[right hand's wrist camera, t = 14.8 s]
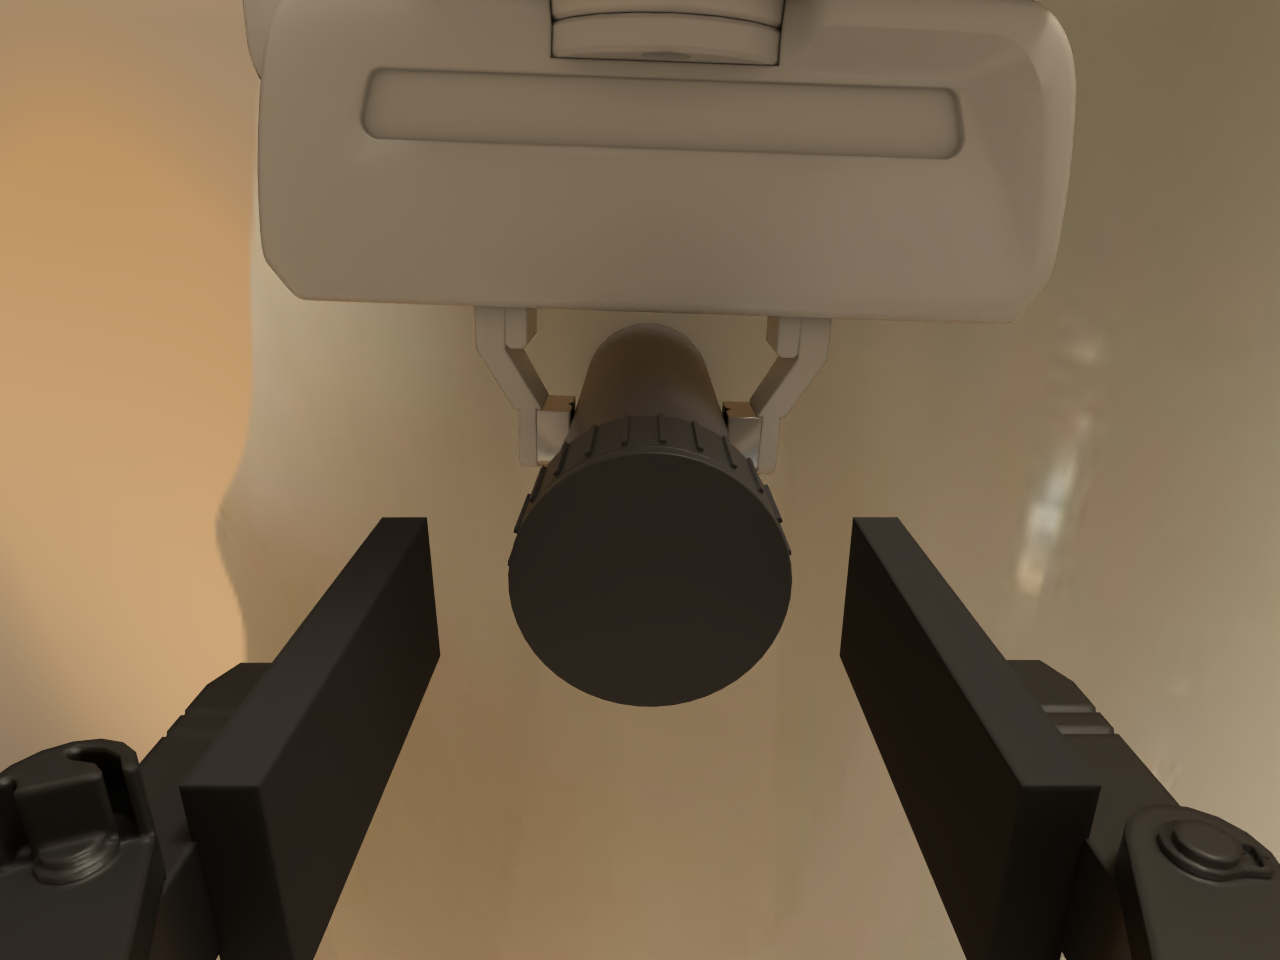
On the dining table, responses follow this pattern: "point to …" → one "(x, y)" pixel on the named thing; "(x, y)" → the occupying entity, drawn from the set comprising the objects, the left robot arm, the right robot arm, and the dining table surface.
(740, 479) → the lid
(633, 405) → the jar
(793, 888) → the dining table surface
